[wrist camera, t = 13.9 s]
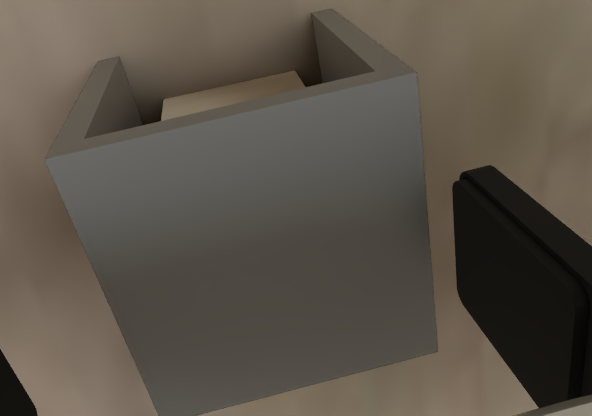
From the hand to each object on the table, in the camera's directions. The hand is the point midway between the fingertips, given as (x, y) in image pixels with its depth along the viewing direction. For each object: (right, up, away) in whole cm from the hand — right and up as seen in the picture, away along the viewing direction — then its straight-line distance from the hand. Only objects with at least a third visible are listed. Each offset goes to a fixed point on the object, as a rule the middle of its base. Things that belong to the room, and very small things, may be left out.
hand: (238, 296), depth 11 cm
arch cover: (-1, +4, +7) cm, 8 cm away
